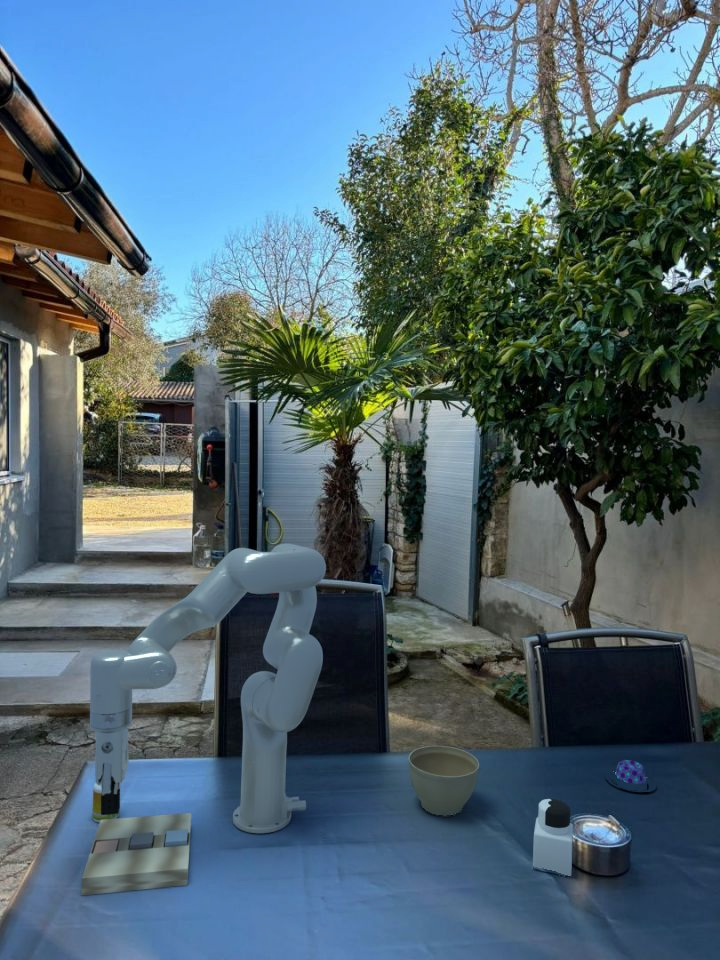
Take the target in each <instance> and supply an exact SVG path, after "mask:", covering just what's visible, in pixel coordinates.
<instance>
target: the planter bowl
mask: <svg viewBox="0 0 720 960" xmlns="http://www.w3.org/2000/svg"><path fill="white" fill-rule="evenodd" d="M408 755H409V756H408V765H409V766H408V767H409V777H410V778H409V779H410V782H411V786H412V787H413V791H414V792H415V794H416V796H417V797H418V800H419V801H420V805H421V807H422V809H423V808H424V809H425V810H424V809H423V810H424V811H425V812H427V811H428V812H427V813H429V812H430V813H429V814H431V813H433V814H432V815H434V814H436V815H435V816H438V815H451V814H455V813H458V812H460V811H461V810H462V811H463V809H464V806H465V805H466V803H467V802H468V801H469V800H470V798H471V796H472V795H473V792H474V790H475V787H476V784H477V781H478V772H479V769H480V762H479V760H478V759H477V757H475V756H474V755H473V754H472V753H470V752H468V751H466V750H463V749H461V748H457V747H452V746H445V745H427V746H422V747H419V748H415V749H414V750H412V751H411V752H410V753H409V754H408ZM462 808H463V809H462ZM462 811H461V812H462ZM461 812H460V813H461Z"/></svg>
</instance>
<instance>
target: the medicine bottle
mask: <svg viewBox="0 0 720 960" xmlns="http://www.w3.org/2000/svg"><path fill="white" fill-rule="evenodd" d="M537 814H538V815H537V817H535V825H534V831H533V844H532V845H533V846H532V847H533V849H532V850H533V851H532V853H533V854H532V867H533V866H534V867H538V868H544V869H547V870H552V871H556V872H558V873H561V874H564V875H568V876H571V877H572V866H573V865H572V864H573V839H574V838H573V837H574V836H573V833H574V825H573V823H571V808H570V807H569V805H568V804H567V803H565V801H562V800H559V799H556V798H555V799H554V798H547V799H546V798H545V799H542V800H541V801H540V802H539V803H538V813H537Z"/></svg>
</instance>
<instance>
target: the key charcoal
mask: <svg viewBox="0 0 720 960" xmlns="http://www.w3.org/2000/svg"><path fill="white" fill-rule="evenodd" d="M153 835H154V832H149V833H137V834H132V837H131V842H130V850H138V849H150V848H152V845H153Z"/></svg>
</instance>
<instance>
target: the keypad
mask: <svg viewBox="0 0 720 960" xmlns="http://www.w3.org/2000/svg"><path fill="white" fill-rule="evenodd" d="M191 828H192V812H186V813H173V814H171V813H170V814H159V815H145V816H134V817H132V816H131V817H120V818H118V817H117V818H116V819H105V820H101V821H100V823H99V824H98V827H97V831H96V833H95V836H94V839H93V843H92V846H91V850H90V852H89V855H88V858H87V861H86V865H85V867H84V871H83V875H82V876H81V877H82V878H81V890H80V891H81V892H80V893H81V896H91V895H100V894H110V893H111V894H112V893H113V894H114V893H121V892H130V891H131V892H132V891H139V890H140V891H141V890H142V891H143V890H149V889H150V890H151V889H152V890H153V889H162V888H163V889H164V888H170V887H171V888H172V887H180V886H181V887H183V886H188V885H189V884H188V881H189V866H190V864H189V863H190V851H191V850H190V848H191ZM186 829H188V835H187V845H185V846H173V847H165V841H166V833H167V831H174V830H186ZM149 832H154V835H153V845H152V848H150V849H138V850H130V842H131V837H132V834H137V833H149ZM111 840H119V841H118V850H117V851H115V852H103V853H93V852H94V849H95V845H96V842H99V841H111Z"/></svg>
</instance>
